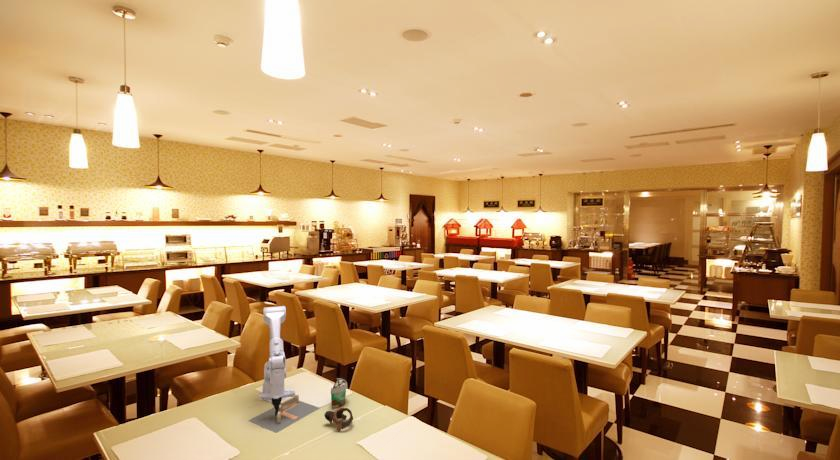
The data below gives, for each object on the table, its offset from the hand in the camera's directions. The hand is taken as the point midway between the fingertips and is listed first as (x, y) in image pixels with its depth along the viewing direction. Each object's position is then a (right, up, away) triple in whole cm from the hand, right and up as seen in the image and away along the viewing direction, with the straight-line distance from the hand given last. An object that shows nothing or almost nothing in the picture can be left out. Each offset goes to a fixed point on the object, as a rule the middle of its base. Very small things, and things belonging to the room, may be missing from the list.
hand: (277, 414), depth 172 cm
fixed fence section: (+2, -1, +9) cm, 9 cm away
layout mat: (+2, -2, +3) cm, 4 cm away
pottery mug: (+27, -3, -5) cm, 28 cm away
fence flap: (+1, -1, 0) cm, 2 cm away
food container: (+24, -2, +13) cm, 28 cm away
